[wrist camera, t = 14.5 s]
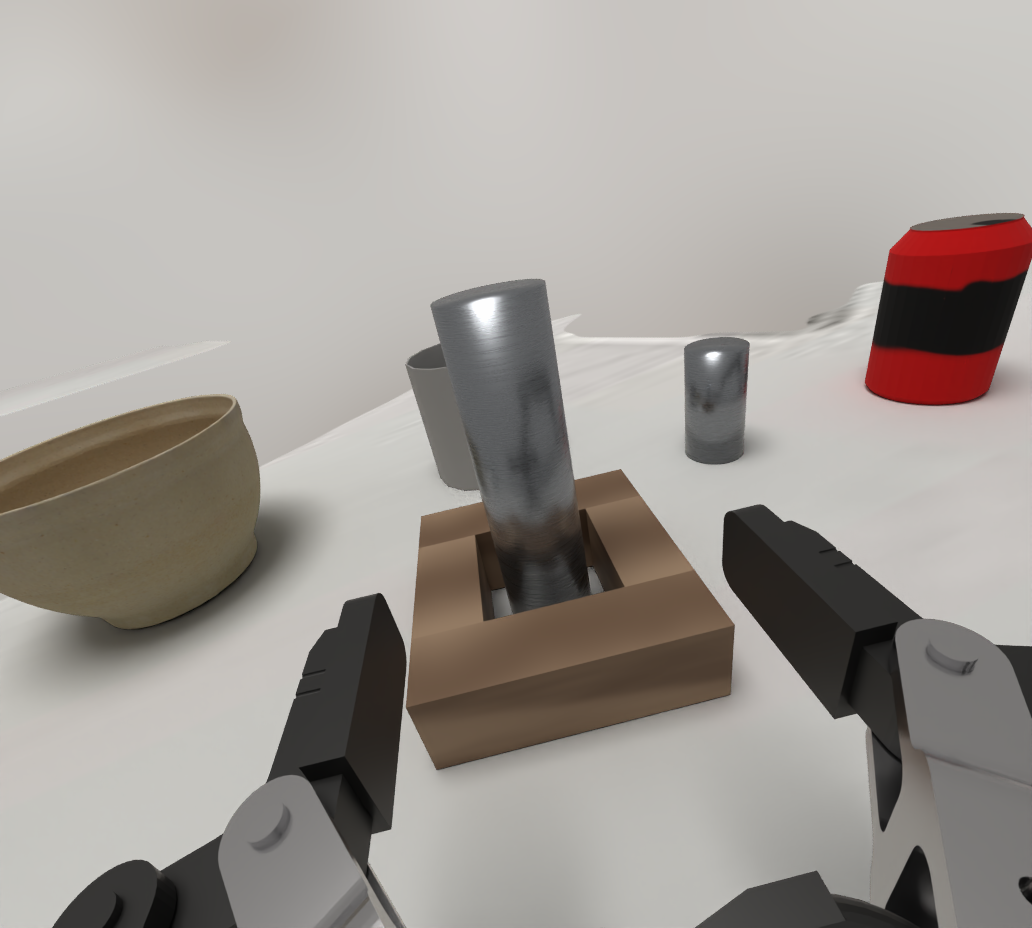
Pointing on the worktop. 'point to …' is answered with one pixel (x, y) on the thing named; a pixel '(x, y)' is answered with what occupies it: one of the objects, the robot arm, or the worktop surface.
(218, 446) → the planter bowl
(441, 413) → the cup
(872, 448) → the worktop surface
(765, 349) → the worktop surface
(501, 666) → the walnut bored block
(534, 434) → the long steel pin
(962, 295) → the soda can
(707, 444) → the short steel pin
